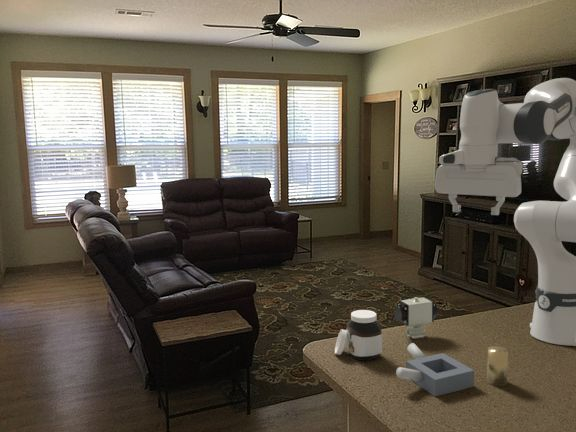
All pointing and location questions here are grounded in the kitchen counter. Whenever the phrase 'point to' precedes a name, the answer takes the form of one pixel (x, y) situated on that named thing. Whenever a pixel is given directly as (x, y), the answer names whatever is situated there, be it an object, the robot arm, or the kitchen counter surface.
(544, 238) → the robot arm
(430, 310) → the pneumatic valve
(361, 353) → the spread jar
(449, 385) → the coupling block
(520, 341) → the kitchen counter surface
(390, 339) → the kitchen counter surface
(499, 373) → the cylinder
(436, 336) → the kitchen counter surface
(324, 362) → the kitchen counter surface
